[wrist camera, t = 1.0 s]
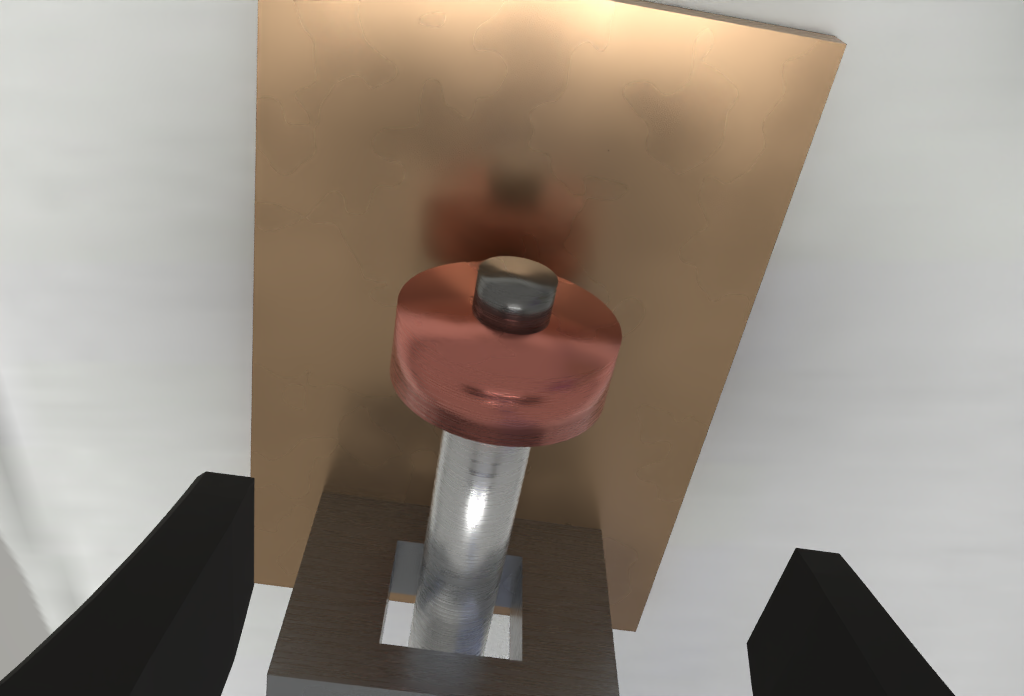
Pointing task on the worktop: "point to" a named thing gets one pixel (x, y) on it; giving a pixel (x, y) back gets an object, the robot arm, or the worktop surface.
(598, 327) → the red-capped metal rod
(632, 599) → the wooden base with bracket
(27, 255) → the worktop surface
